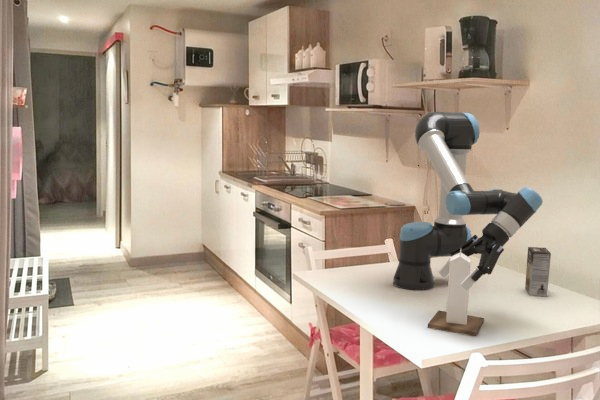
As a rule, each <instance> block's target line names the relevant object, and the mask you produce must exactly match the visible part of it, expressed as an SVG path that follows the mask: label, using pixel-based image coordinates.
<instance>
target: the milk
mask: <svg viewBox="0 0 600 400" xmlns="http://www.w3.org/2000/svg"><path fill="white" fill-rule="evenodd" d="M449 259H450V262H449V274H448V280H447V281H448V284H447V299H446V300H447V302H446V312H447V315H446V323H455V324H463V325H467V315H468V312H469V311H468V309H469V296H470V295H469V293H470V288H469V289H468V290H465V289H464V288H463V287H462V285H461V284H460V283H461V282H462V281H463V280H464V279H465V278H466V277H467V276H468V275H469V274H470V273H471V265H472V264H471V260H472V258H470V256H468V257H467V256H466V255H464V254H463V253H461V251H460V253H458V254H456V255H454V256H449Z"/></svg>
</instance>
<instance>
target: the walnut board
mask: <svg viewBox="0 0 600 400" xmlns="http://www.w3.org/2000/svg"><path fill="white" fill-rule="evenodd" d="M446 315H447V310H437V312H436V313H435V314H434V315H433V317H432V318H431V319H430V320H429V322H428V323H427V328H428V329H433V330H439V331H444V332H445V331H446V332H451V333H454V334H455V333H457V334H462V335H467V336H472V337H477V336H478V334H479V332H480V330H481V328H482V326H483V324H484V323H485V317H483V316H476V315H468V314H467V325H463V324H455V323H446Z"/></svg>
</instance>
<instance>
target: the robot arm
mask: <svg viewBox="0 0 600 400" xmlns="http://www.w3.org/2000/svg"><path fill="white" fill-rule="evenodd" d="M479 138H480V125H479V121H478V120H477V118H476V117H475V116H474V115H473V113H472V114H471V113H468V112H462V111H460V112H458V111H457V112H456V111H455V112H453V111H452V112H451V111H449V112H448V111H447V112H446V111H432V112H428V113H426V114H425V115H423V116H422V117H421V118H420V119H419V120H418V122H417V124H416V127H415V130H414V139H415V143H416V144H417V146H418V148H419V149H420V150H421V151H423V152H424V153H425V154H426V156H427V158H428V160H429V162H430V164H431V166H432V168H433V169H434V171H435V173H436V175H437V176H438V178H439V180H440V194H439V210H438V216H437V217H436V218H435V219H434V221H433V222H434V223H433V224H432V223H431V222H428V221H414V222H413V221H412V222H409V223H405V224H403V225H402V227H401V228H400V233H399V236H398V237H399V251H398V252H399V253H398V265H397V268H396V270H395V272H394V274H393V275H394V276H393V278H392V279H393V281H392V283H393V285H394V286H396V287H398V288H400V289H405V290H412V291H425V290H426V291H427V290H430V289H433V288H434V287H435V278H434V274H433V271H432V266H431V258H439V257H441V258H442V257H451V256H454V255H456V254H458V253H460V251H461V253H463V254H464V255H466V256H467V257H470V256H472V255H480V258H479V263H478V265H477V266H476V267H475V268H474V269H473V270H471V271H470V274H469V275H468V276H467V277H466V278H465V279H464V280H463V281H462V282H461V283H460V284H461V285H462V287H463V288H464V289H465V290H468V289H469V290H470V288H471V287H472V286H473V285H474V284H475V283H476V282H478V280H479V279H480V278H481V277H482V276H483V275H486V274H487V275H491V274H492V273H493V270H494V268H495V266H496V264H497V262H498V259H499V258H500V256H501V255H502V253H503V252H504V251H505V248H503V247H504V246H505V245H506V243H508V241H509V240H510V238H512V237H513V236H514V235H515V234H516V233H517V231H518V230H519V229H521V228H522V227H523V226H524V225H525V224H526V222H527V221H529V220H530V218H532V217H533V215H534V214H536V213H537V211H538V210H539V208H540V207H541V206H542V205H543V198H542V197H541V195H540V194H539V193H538V192H537V191H536V190H535V189H534V188H531V187H527V186H524V187H522V188H521V189H520V190H518V192H517V193H516V192H510V191H507V190H503V189H500V188H499V189H496V188H492V189H490V190H475V189H473V187H472V185H471V184H470V181H468V179H467V177H466V169H467V158H468V157H467V156H468V153H470V152H471V151H472V147H473V146H474V145H475V144H476V143H477V142H478V140H479ZM472 145H473V146H472ZM471 215H472V216H474V215H475V216H476V215H482V216H483V215H495V216H494V217H493V218H492V219H491V220H490V222H489V223H487V225H485V227H484V228H483V229H482V230H481V232H482V235H481V236H480V237H478V236H477V235H476V234H474V235H473V236H472V233H471V232H472V231H471V228H470V227H469V226H468V225H467V222H466V220H464V218H463V216H471ZM449 262H450V258H449V259H448V260H447V261H446V263H445V264H444V265H443V266H441V268H440V269H439V270H438V271H437V273H439V275H440V276H441V277H442V278H443V279H445V278H446V277H447V276H449Z"/></svg>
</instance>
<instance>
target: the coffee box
mask: <svg viewBox="0 0 600 400" xmlns="http://www.w3.org/2000/svg"><path fill="white" fill-rule="evenodd" d="M551 256H552V254H551V251H549V250H548V248H546V247H537V246H536V247H535V246H528V247H527V255H526V257H527V260H526V268H525V269H526V272H525V284H524V285H525V286H524V289H525V290H526V292H527V293H528V295H529V296H533V297H547V298H548V291H549V278H550V269H551V268H550V267H551V258H552V257H551Z"/></svg>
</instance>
